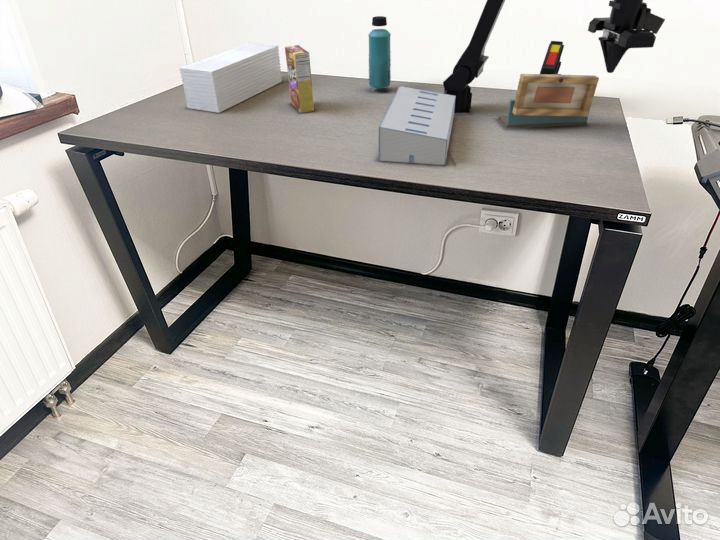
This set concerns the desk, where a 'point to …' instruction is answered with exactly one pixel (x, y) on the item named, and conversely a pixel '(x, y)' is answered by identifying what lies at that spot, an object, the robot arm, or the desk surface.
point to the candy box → (299, 78)
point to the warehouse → (417, 127)
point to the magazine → (552, 58)
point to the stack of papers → (231, 76)
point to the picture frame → (554, 95)
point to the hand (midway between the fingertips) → (609, 72)
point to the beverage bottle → (379, 54)
